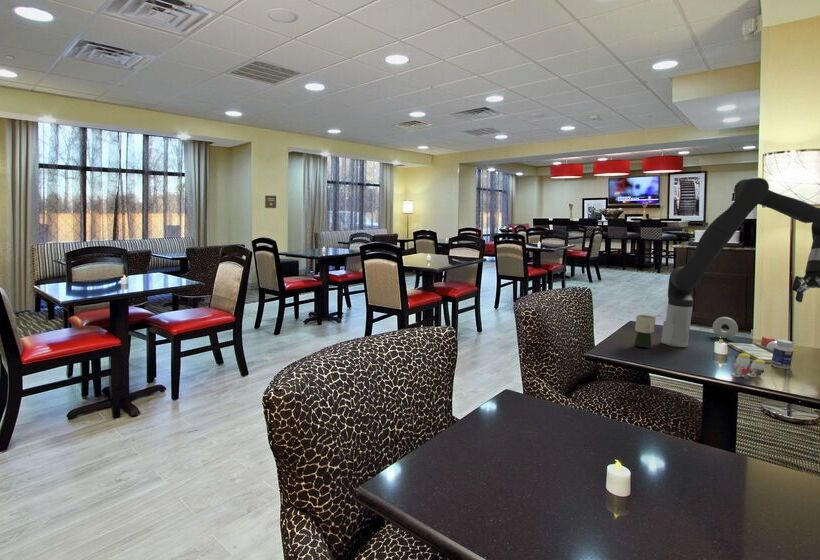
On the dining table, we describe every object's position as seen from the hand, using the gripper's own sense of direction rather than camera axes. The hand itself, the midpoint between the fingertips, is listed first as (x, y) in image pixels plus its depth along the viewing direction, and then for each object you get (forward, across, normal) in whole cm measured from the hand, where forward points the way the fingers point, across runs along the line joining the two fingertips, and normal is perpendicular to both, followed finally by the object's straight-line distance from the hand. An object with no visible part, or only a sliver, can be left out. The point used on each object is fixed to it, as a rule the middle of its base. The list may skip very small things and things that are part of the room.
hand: (811, 302), depth 183 cm
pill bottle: (+28, -2, -5) cm, 28 cm away
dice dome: (+20, -18, +12) cm, 30 cm away
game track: (+23, -16, 0) cm, 28 cm away
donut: (+16, -38, +8) cm, 42 cm away
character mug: (+34, -35, -39) cm, 62 cm away
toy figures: (+37, +2, -28) cm, 46 cm away
